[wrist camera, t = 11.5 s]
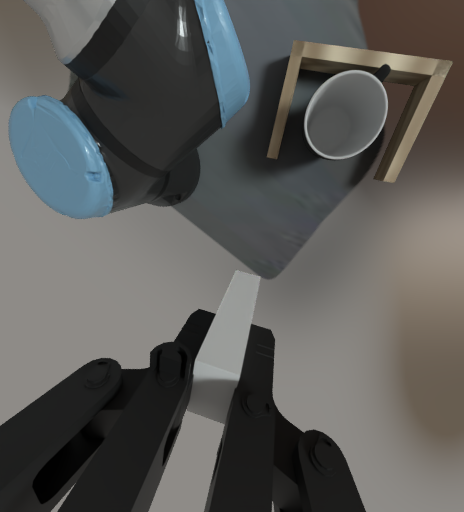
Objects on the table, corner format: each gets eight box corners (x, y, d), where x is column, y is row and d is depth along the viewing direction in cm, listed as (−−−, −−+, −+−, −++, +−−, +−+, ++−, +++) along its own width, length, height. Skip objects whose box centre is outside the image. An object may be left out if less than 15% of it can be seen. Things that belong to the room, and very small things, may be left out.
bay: (268, 157, 37) (266, 156, 34) (292, 54, 32) (294, 40, 28) (382, 181, 35) (394, 182, 32) (432, 74, 29) (452, 61, 26)
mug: (325, 173, 36) (339, 175, 27) (286, 135, 36) (287, 125, 27) (391, 105, 31) (436, 80, 22) (348, 59, 31) (376, 15, 21)
